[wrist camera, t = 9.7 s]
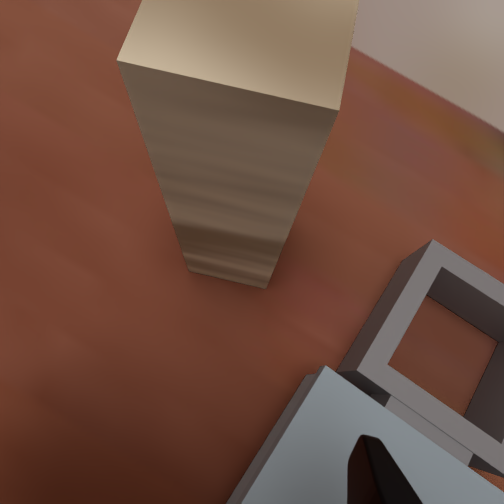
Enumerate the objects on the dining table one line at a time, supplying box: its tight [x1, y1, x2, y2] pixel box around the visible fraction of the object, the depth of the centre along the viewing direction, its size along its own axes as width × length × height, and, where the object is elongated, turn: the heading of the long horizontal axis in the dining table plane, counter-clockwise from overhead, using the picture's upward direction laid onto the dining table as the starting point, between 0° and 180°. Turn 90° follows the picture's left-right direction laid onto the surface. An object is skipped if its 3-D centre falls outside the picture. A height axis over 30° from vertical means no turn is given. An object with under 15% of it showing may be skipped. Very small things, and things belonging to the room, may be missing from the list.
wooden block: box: [117, 0, 359, 289], centre depth 15 cm, size 4×4×15 cm
